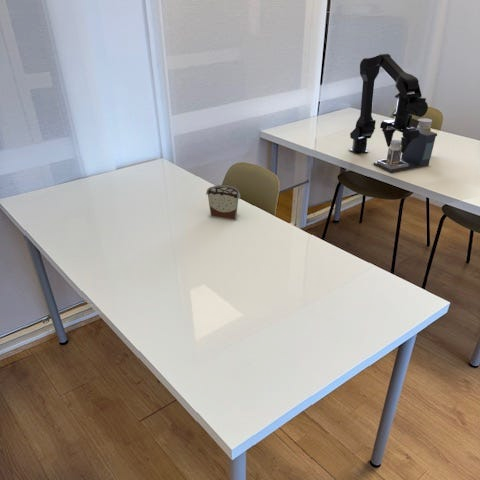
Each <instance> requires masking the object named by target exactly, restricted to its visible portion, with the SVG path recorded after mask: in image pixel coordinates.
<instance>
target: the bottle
mask: <svg viewBox="0 0 480 480" xmlns="http://www.w3.org/2000/svg"><path fill="white" fill-rule="evenodd" d="M417 120H418V121H420V122H419V124H418V126H417V127H420V128H423V129H426V130H428V131H431V132H432V129H431V127H432V123H433V119H431V118H425V117H419V118H418V119H417Z"/></svg>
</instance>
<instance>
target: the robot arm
mask: <svg viewBox="0 0 480 480" xmlns="http://www.w3.org/2000/svg"><path fill="white" fill-rule="evenodd" d="M359 63H360V64H359V75H360V77H361V79H362V88H361V89H362V90H361V100H360V101H361V103H360V115H359V117H358V118H357V120H356V123H355V127H354V129H353V130H352V131H351V132H350V133H349V136H350V137H349V138H350V139H351V140H352V147H351V148H349V149H348V150H349V151H350V152H352V153H354V154H356V155H359V154H364V153H365V154H367V153H368V152H369V151H368V150H367V145H368V139H371V138H372V136H373V135H374V132H375V130H376V121H377V120H376V119H374V118H373V116H372V114H373V113H372V112H373V103H374V102H373V101H374V90H375V83H376V82H375V81H376V79H377V77H378V76H379V75H380V70H381V69H382V70H383V71H384V72H385V73H386V74H387V75H388V76H389V77H390V78H391V79H392V80H393V81H394V86H395V89H396V90H397V92H398V93H397V94H395V95H394V98H395V99H397V104H396V109H395V112H394V113H393V114H392V117H394V119H388V120H386V119H385V120H382V121H381V123H380V127H379V128H380V129H381V132H382V133H383V135H384V140H385V143H386V146H387V147H388V148H389V146H391V141H392V140H393V137H394V133H395V132H396V131H397V132H400V133H402V136H401V137H400V138H401V139H400V141H401V154H402V153H404V152H405V150H406V148H407V147H408V145H409V143H410V142H411V141H412V140H413V139H416V138H417V137H419V135H420V131H419V130H417V129H416V128H417V126H418V124H419V122H420V121H418V119H415V118H413V116H415V117H418V118H423V117H424V116H425V115H426V114H427V112H428V109H429V106H428V105H429V104H428V102H427V98H426V97H423V96H422V92H421V87H420V83H419V79H418V78H417V76H414V75H413V74H410V73H407V72H406V71H405V70H404V69H403V68H402V67H401V66H400V65H399V64H398V63H397V62H396V61H395V60H394V59H393V58H392V56H391V54H389V53H379V54H378V55H375V56H373V57H372V56H371V57H366V58H365V57H364V58H363V59H361V61H360V62H359ZM411 127H414V128H411ZM407 128H410V129H407Z"/></svg>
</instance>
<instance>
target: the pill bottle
mask: <svg viewBox="0 0 480 480" xmlns="http://www.w3.org/2000/svg"><path fill="white" fill-rule="evenodd" d="M401 157H402V152H401V139H392V141H391V145H390V146H389V147H388V150H387V156H386V159H387V160H386V164H388V165H390V166H397V165H399V162H400V158H401Z"/></svg>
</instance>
